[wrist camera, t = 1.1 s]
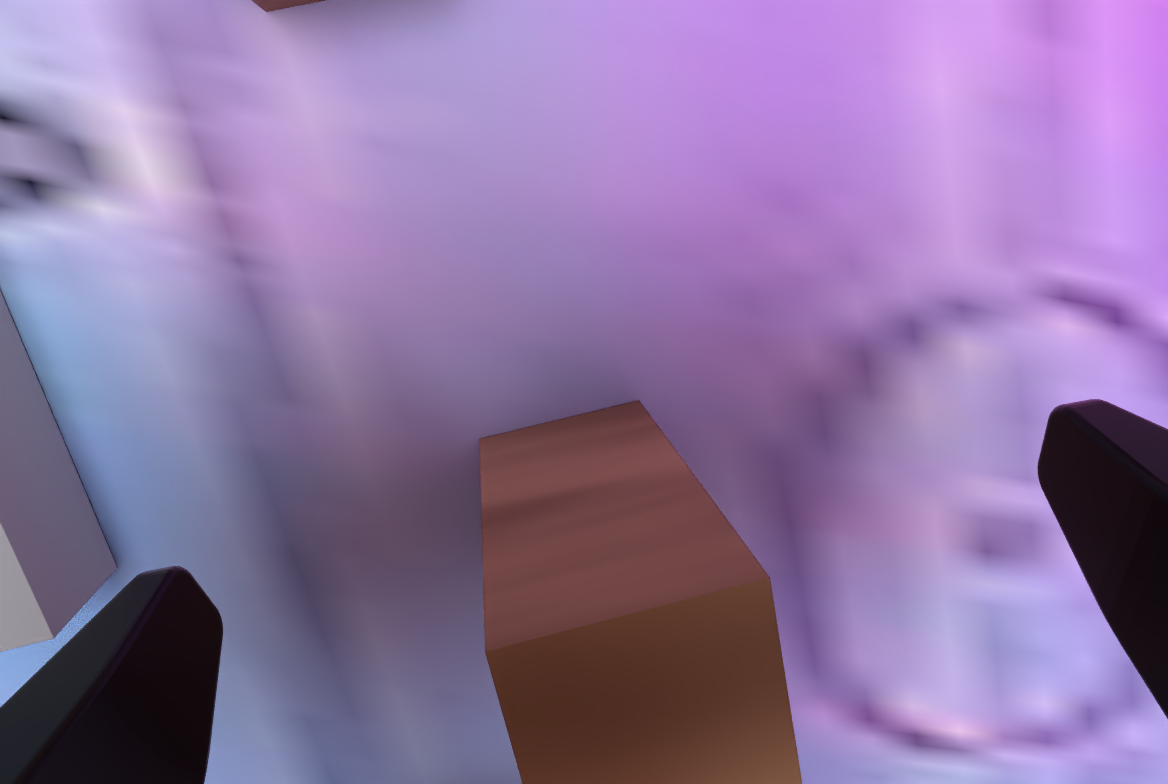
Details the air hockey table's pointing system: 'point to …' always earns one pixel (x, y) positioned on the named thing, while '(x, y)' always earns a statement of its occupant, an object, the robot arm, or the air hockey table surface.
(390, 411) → the air hockey table surface
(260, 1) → the short brown block
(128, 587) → the robot arm
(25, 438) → the gauge block
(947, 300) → the air hockey table surface
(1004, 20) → the air hockey table surface
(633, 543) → the brown rectangular block
